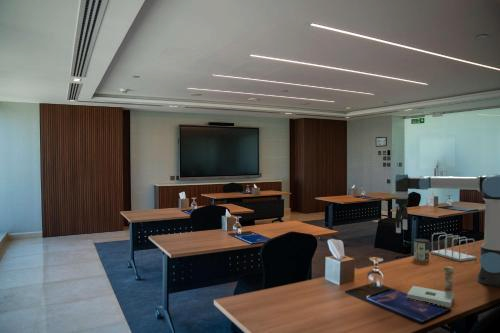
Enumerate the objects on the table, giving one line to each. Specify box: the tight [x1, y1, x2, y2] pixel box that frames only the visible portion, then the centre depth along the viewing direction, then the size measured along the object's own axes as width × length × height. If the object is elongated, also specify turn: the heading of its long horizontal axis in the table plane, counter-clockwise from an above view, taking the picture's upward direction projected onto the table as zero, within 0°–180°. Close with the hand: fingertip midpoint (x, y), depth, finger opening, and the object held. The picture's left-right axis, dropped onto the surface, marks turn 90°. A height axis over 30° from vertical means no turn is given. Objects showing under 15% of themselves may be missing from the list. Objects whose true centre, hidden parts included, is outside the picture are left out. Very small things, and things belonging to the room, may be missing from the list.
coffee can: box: [413, 238, 430, 262], centre depth 261 cm, size 10×10×14 cm
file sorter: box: [430, 232, 477, 262], centre depth 269 cm, size 25×17×16 cm
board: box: [406, 285, 455, 308], centre depth 188 cm, size 20×15×2 cm
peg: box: [443, 265, 454, 293], centre depth 194 cm, size 5×5×14 cm
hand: (401, 231), depth 227 cm, fingers open, 13 cm apart
